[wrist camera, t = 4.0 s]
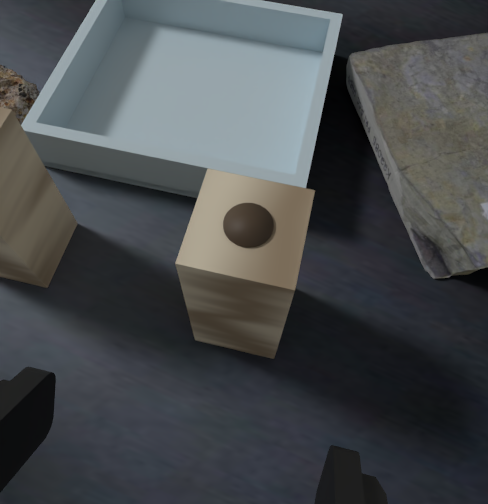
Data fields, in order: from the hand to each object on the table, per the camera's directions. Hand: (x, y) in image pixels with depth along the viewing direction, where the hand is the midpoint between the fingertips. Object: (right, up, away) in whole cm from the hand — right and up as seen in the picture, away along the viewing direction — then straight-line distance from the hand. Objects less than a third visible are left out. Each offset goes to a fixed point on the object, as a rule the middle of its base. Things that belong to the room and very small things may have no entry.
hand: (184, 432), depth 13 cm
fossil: (+20, +11, +20) cm, 30 cm away
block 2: (+2, +2, +14) cm, 14 cm away
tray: (-2, +16, +22) cm, 27 cm away
